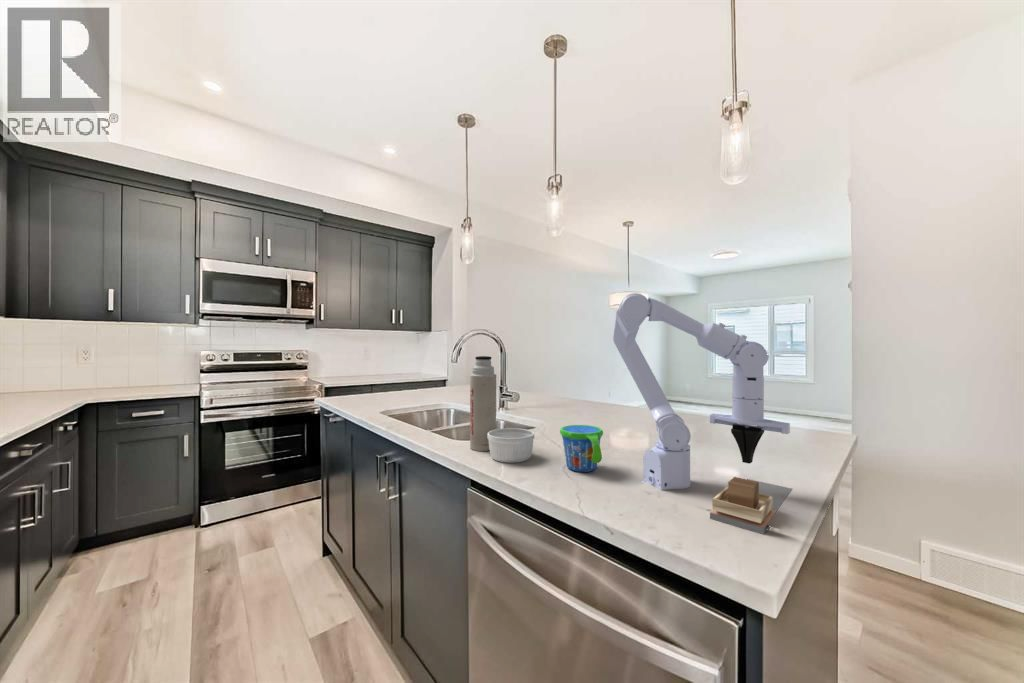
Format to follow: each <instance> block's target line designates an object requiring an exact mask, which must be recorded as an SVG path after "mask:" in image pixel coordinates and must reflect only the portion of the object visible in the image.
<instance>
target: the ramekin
mask: <svg viewBox="0 0 1024 683" xmlns="http://www.w3.org/2000/svg"><path fill="white" fill-rule="evenodd" d="M487 438H488V440H489V449H490V451H489V455H490V457H491V458H492V459H493V460H494V461H497V462H500V463H508V464H509V463H510V464H511V463H512V464H513V463H522V462H525V461H528V460H529V459H530V458H531V456H532V454H533V449H534V440H535V432H534V431H532V430H530V429H526V428H525V429H524V428H519V427H517V428H516V427H506V428H505V427H504V428H496V429H495V430H492V431H489V432H488V436H487Z"/></svg>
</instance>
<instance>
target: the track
mask: <svg viewBox="0 0 1024 683" xmlns="http://www.w3.org/2000/svg"><path fill="white" fill-rule="evenodd" d="M747 480H752V481H756V482H759V493H760V494H764V495H769V496H773V508H772V509H771V512H769V513H768V515H767V516H766V517H765V519H764V520H763V523H758V522H754V521H751V520H747V519H743V518H740V517H736V516H733V515H729V514H725V513H722V512H718V511H715V510H713V509H712V510H711V511H710V512H709V519H711V520H713V521H718V522H721V523H724V524H727V525H730V526H731V525H732V526H734V527H738V528H741V529H745V530H748V531H752V532H755V533H758V534H762V535H765V533H766V532H767V531H768V529H769V528H770V526H771V525H770V524H769V522H770V521H771V520H772V518H773V516H774V515H775V514H776V512H777V511H778V510H779V509H780V507H781V506H782V504H783V503H784V501H785V500H786V498H787V497H788V495H790V493H791V491H793V488H792V487H786V486H783V485H778V484H773V483H767V482H763V481H758V480H754V479H748V478H747Z"/></svg>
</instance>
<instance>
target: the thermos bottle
mask: <svg viewBox="0 0 1024 683" xmlns="http://www.w3.org/2000/svg"><path fill="white" fill-rule="evenodd" d="M474 358H475V361H474V362H475V363H474V364H475V365H474V366H473V367H472V369H471V371H472V373H471V374H470V375H469V381H470V382H469V389H470V390H469V395H470V396H469V405H470V408H469V410H470V411H469V412H470V414H469V415H470V416H469V421H470V422H469V426H470V428H469V434H470V435H469V442H470V443H469V446H470V448H469V449H470V450H472V449H473V450H472V451H475V450H477V451H476V452H488V450H490V449H489V440H488V438H487V436H488V432H489V431H492V430H495V429H497V374H496V373H495V367H494V366H493V365H492V361H491V360H492V356H486V355H481V356H480V355H479V356H478V355H477V356H475V357H474Z"/></svg>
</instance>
